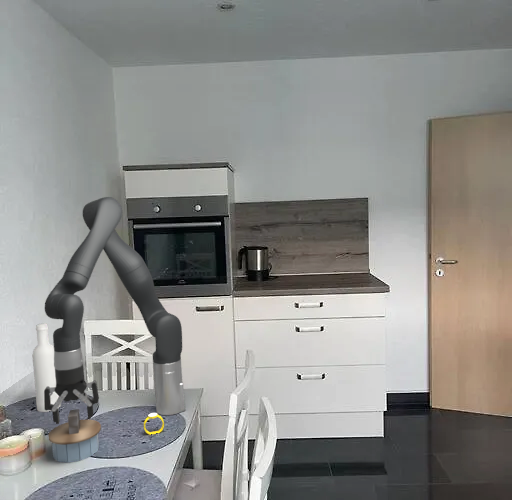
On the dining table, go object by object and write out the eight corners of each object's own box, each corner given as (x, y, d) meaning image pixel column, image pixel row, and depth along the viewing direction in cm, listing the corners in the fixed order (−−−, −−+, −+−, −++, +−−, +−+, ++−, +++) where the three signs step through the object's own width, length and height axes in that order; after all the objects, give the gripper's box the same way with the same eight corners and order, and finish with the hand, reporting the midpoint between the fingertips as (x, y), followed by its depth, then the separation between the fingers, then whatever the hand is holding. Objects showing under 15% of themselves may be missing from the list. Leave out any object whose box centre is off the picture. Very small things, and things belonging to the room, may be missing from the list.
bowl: (99, 438, 148) (98, 421, 147) (97, 457, 136) (95, 438, 135) (57, 445, 145) (55, 427, 144) (50, 465, 133) (48, 445, 133)
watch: (145, 437, 147) (142, 418, 147) (144, 434, 150) (141, 415, 149) (165, 432, 149) (162, 414, 148) (164, 429, 152) (161, 410, 151)
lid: (102, 419, 148) (100, 400, 148) (99, 439, 135) (97, 419, 134) (52, 426, 145) (51, 407, 144) (44, 448, 131) (42, 427, 131)
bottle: (58, 411, 171) (50, 325, 168) (34, 413, 169) (26, 328, 167) (63, 402, 178) (56, 320, 176) (40, 404, 177) (33, 322, 175)
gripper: (96, 357, 144) (100, 411, 145) (44, 363, 140) (49, 419, 141) (94, 365, 136) (99, 422, 138) (39, 372, 133) (44, 430, 134)
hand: (73, 420), depth 140 cm, fingers open, 8 cm apart
